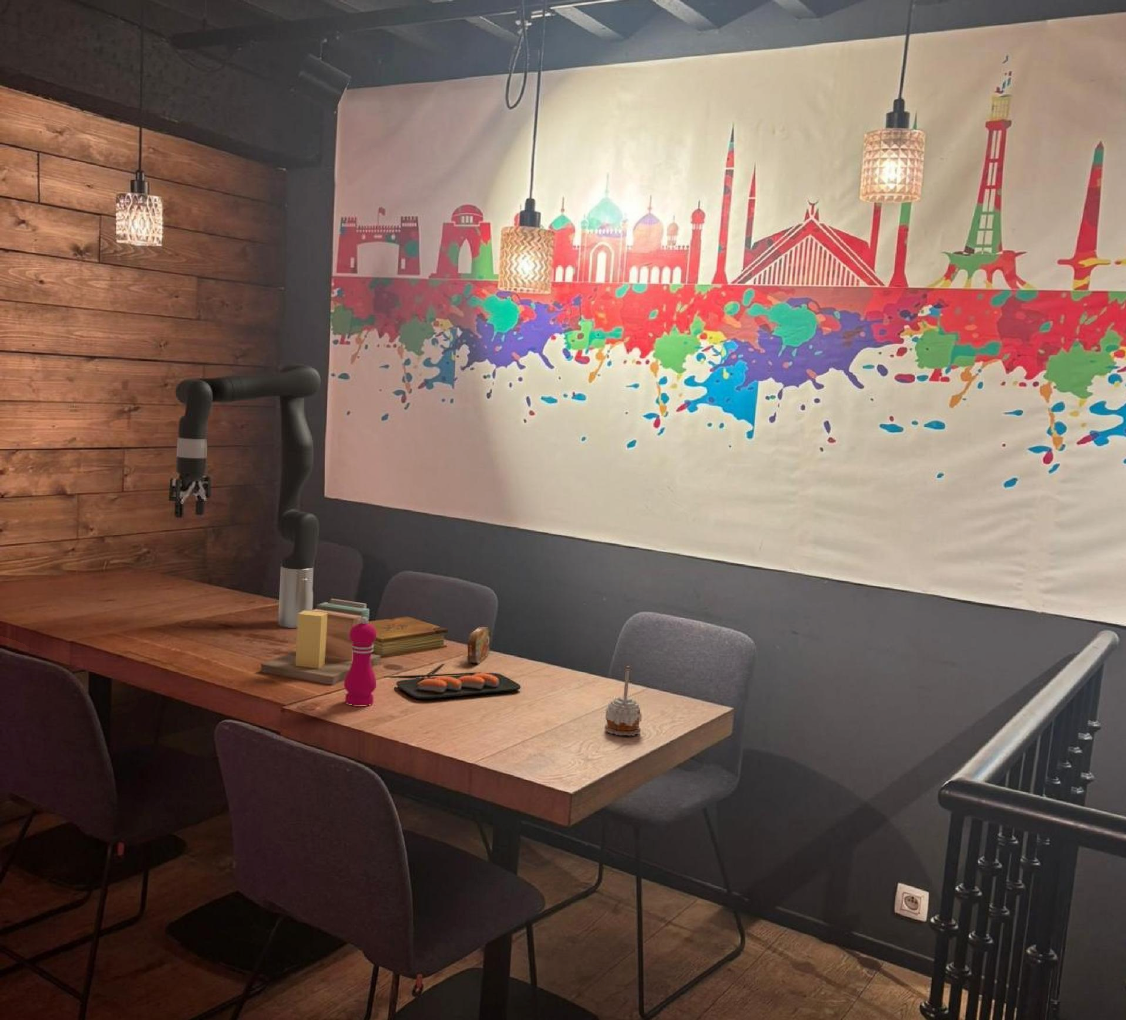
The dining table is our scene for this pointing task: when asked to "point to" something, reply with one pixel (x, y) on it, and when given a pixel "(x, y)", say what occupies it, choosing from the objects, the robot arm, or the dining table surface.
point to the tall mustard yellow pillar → (311, 639)
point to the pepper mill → (361, 665)
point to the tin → (479, 645)
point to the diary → (406, 636)
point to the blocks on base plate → (327, 646)
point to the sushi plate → (455, 684)
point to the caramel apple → (623, 713)
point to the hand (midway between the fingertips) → (189, 516)
